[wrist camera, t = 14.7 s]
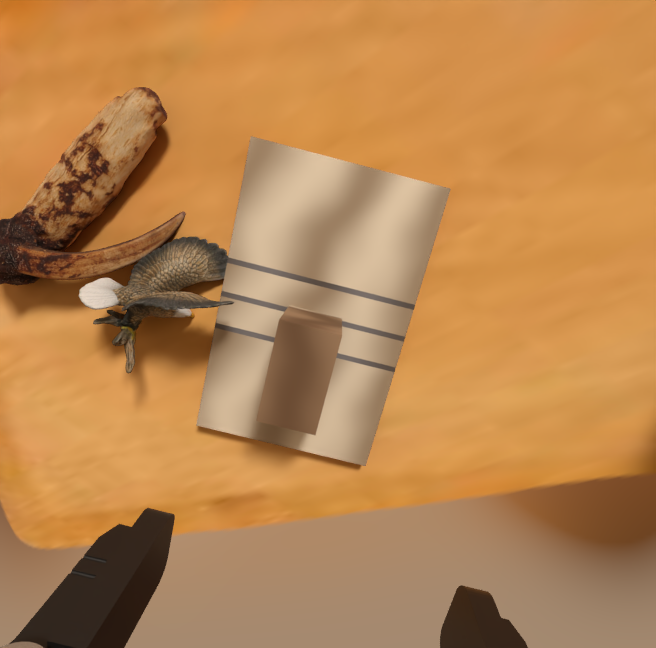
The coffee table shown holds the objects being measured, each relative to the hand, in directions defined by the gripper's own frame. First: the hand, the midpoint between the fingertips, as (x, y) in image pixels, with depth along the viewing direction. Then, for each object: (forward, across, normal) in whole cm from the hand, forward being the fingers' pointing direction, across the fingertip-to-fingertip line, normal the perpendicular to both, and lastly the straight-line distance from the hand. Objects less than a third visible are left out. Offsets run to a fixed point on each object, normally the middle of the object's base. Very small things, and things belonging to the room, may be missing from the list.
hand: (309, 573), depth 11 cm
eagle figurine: (+20, +13, -2) cm, 24 cm away
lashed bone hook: (+21, +19, -6) cm, 29 cm away
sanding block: (+19, +2, 0) cm, 19 cm away
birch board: (+20, +2, -3) cm, 21 cm away
